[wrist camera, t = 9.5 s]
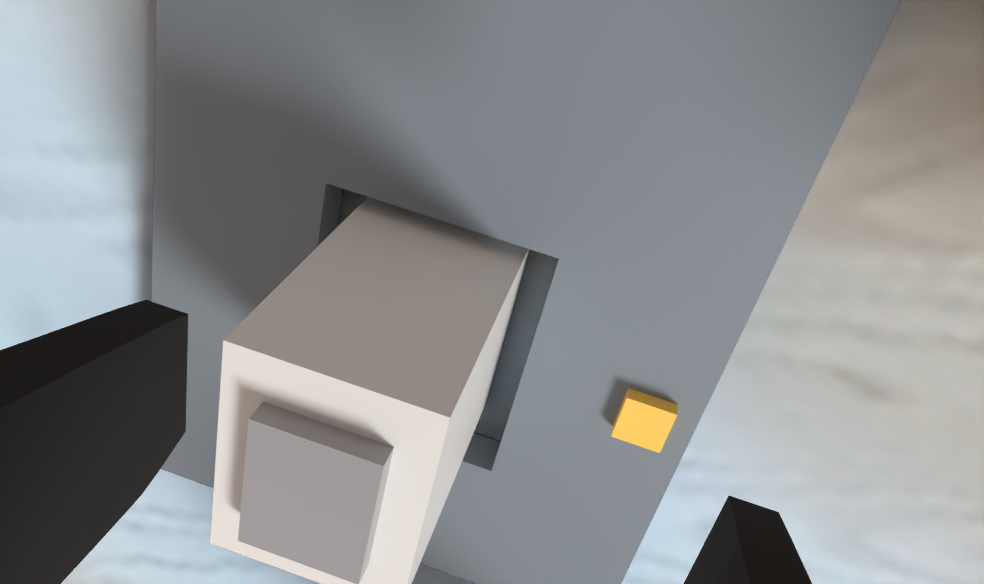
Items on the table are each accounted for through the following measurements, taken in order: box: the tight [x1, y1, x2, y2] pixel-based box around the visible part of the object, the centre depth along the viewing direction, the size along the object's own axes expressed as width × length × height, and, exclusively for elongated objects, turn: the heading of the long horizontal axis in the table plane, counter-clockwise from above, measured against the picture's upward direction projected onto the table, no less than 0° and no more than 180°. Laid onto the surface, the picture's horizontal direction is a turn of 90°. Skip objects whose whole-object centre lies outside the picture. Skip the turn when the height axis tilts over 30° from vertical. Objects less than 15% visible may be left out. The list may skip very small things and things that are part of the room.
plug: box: [210, 197, 530, 584], centre depth 17 cm, size 4×5×8 cm
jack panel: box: [152, 0, 901, 584], centre depth 16 cm, size 14×30×2 cm, turn 167°
